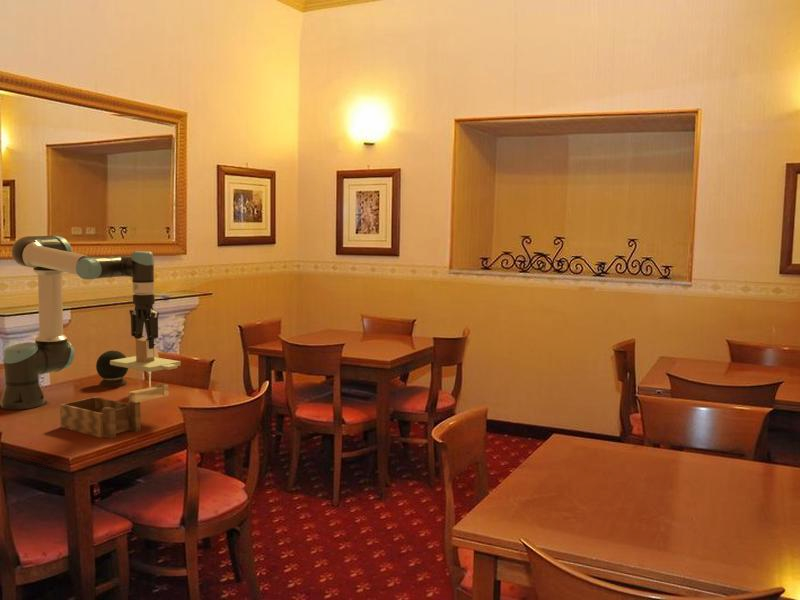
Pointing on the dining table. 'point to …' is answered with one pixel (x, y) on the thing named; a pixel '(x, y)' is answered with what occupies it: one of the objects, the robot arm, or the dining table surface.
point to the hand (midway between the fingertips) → (145, 356)
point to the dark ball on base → (111, 370)
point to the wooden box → (100, 416)
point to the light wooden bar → (148, 393)
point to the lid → (145, 360)
